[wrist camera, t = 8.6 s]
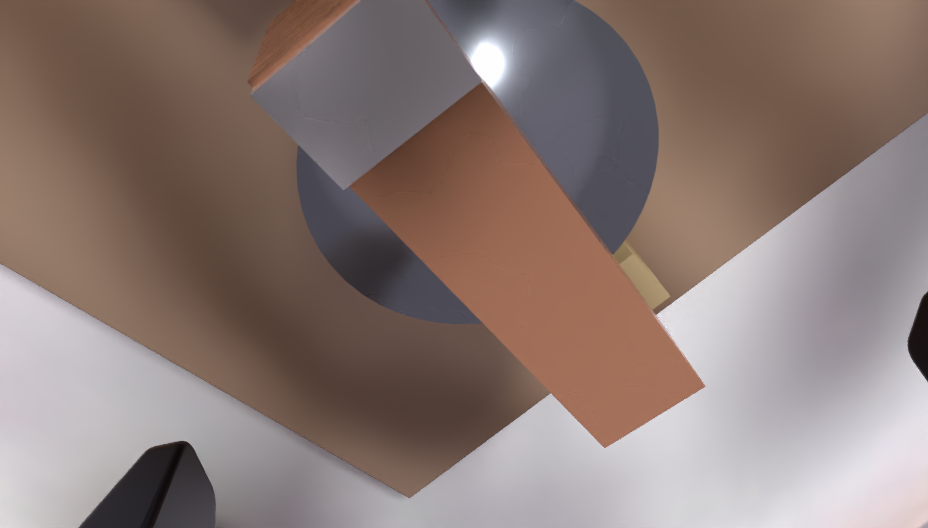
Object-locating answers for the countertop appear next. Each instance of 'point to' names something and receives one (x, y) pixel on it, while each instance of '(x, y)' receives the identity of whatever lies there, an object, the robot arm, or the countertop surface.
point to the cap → (484, 180)
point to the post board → (294, 249)
